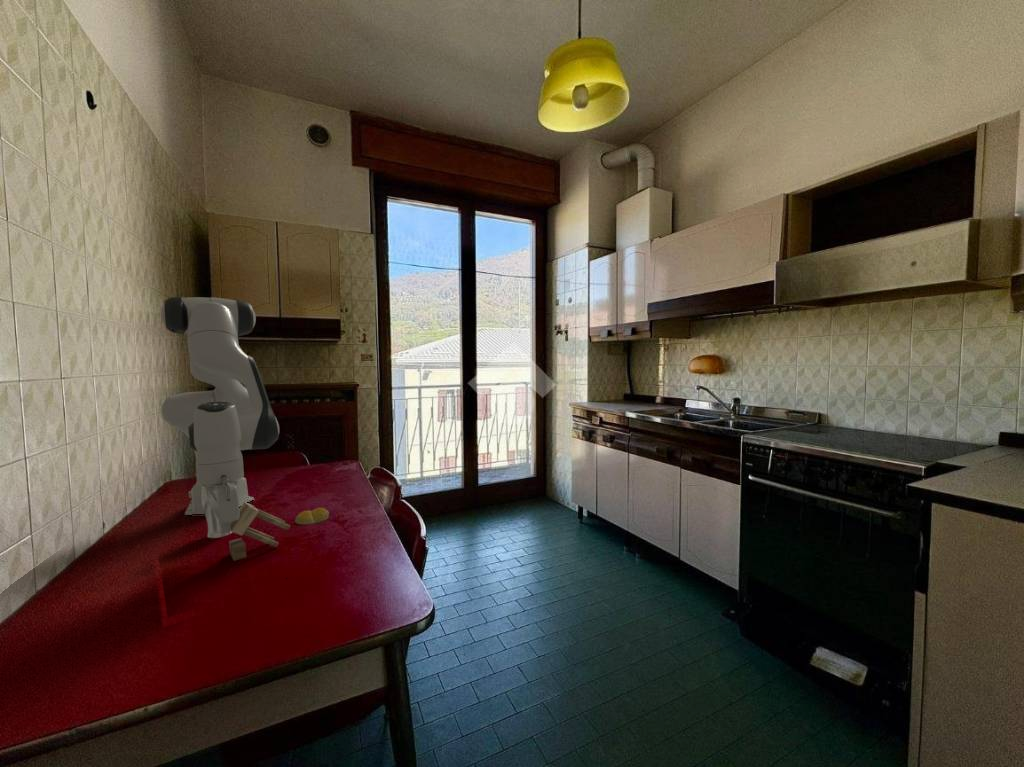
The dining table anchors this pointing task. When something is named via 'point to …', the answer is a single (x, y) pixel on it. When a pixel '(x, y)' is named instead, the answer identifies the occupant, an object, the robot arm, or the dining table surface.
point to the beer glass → (211, 517)
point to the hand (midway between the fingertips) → (225, 531)
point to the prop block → (237, 549)
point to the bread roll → (312, 516)
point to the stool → (246, 518)
